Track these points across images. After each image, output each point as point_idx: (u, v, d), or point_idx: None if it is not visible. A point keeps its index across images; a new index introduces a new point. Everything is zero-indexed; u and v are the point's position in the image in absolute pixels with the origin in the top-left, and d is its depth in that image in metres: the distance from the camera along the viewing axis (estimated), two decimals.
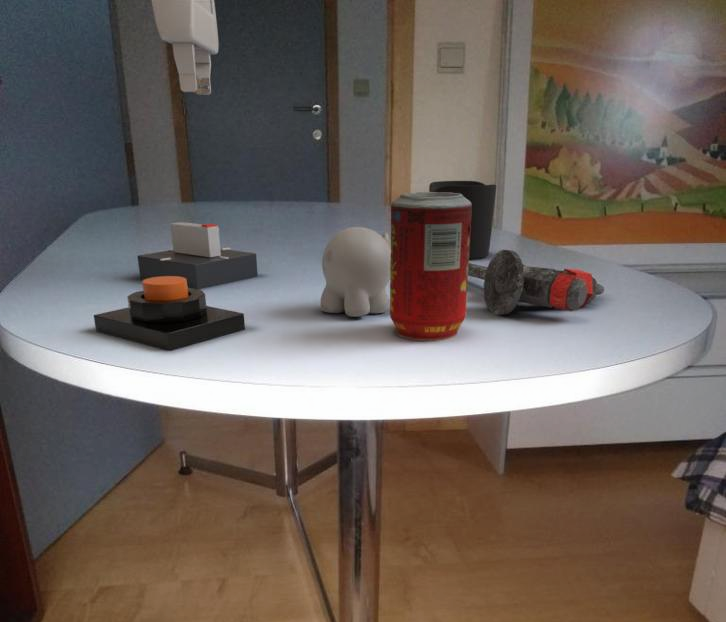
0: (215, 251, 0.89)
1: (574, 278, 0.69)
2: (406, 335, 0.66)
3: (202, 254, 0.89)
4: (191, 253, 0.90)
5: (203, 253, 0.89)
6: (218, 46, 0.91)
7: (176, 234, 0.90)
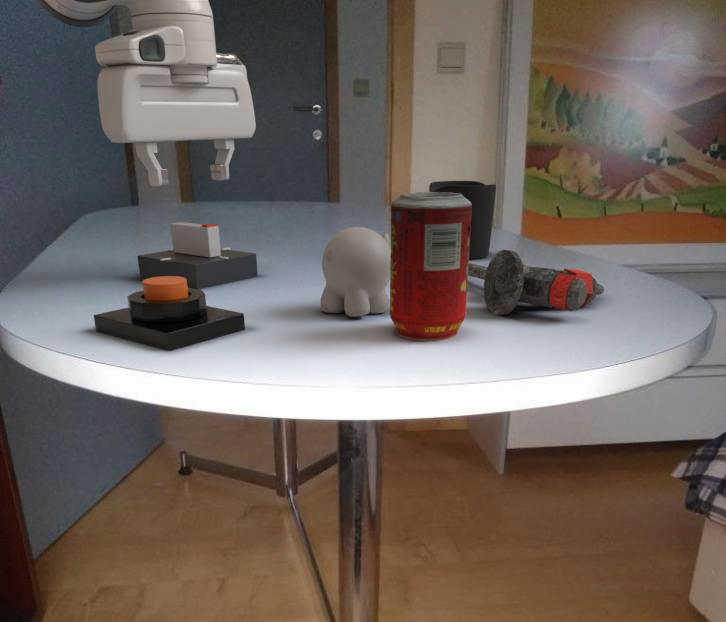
0: (215, 251, 0.89)
1: (574, 278, 0.69)
2: (406, 335, 0.66)
3: (202, 254, 0.89)
4: (191, 253, 0.90)
5: (203, 253, 0.89)
6: (252, 130, 0.90)
7: (176, 234, 0.90)
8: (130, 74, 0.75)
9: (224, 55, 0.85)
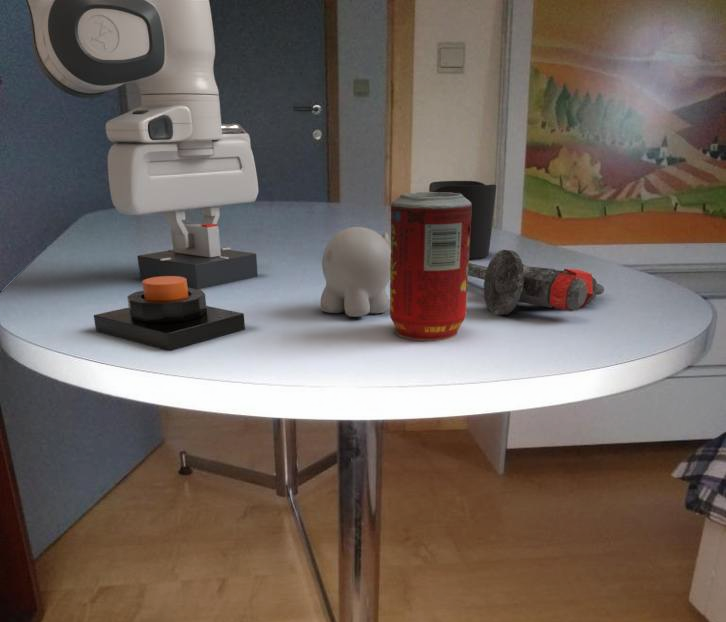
0: (215, 251, 0.89)
1: (574, 278, 0.69)
2: (406, 335, 0.66)
3: (202, 254, 0.89)
4: (191, 253, 0.90)
5: (203, 253, 0.89)
6: (254, 195, 0.93)
7: None
8: (139, 153, 0.78)
9: (229, 126, 0.89)
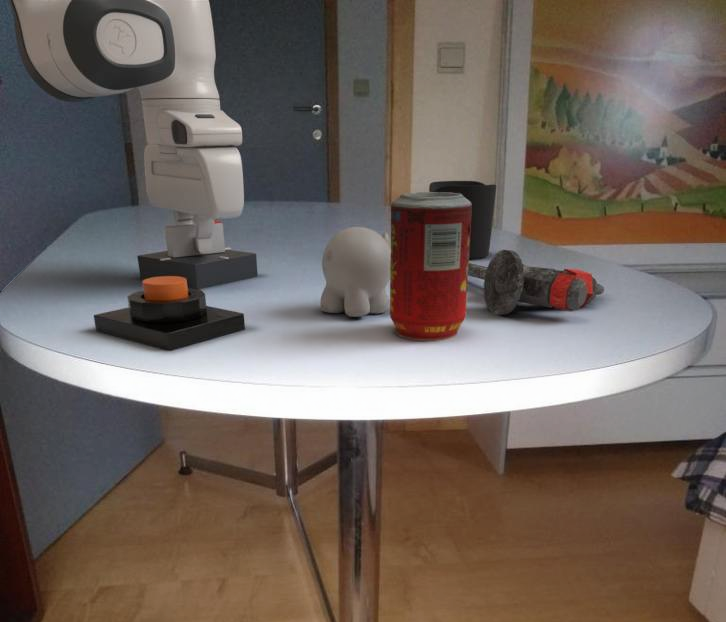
0: None
1: (574, 278, 0.69)
2: (406, 335, 0.66)
3: (215, 251, 0.91)
4: (200, 253, 0.90)
5: (216, 250, 0.91)
6: None
7: (179, 237, 0.88)
8: None
9: None
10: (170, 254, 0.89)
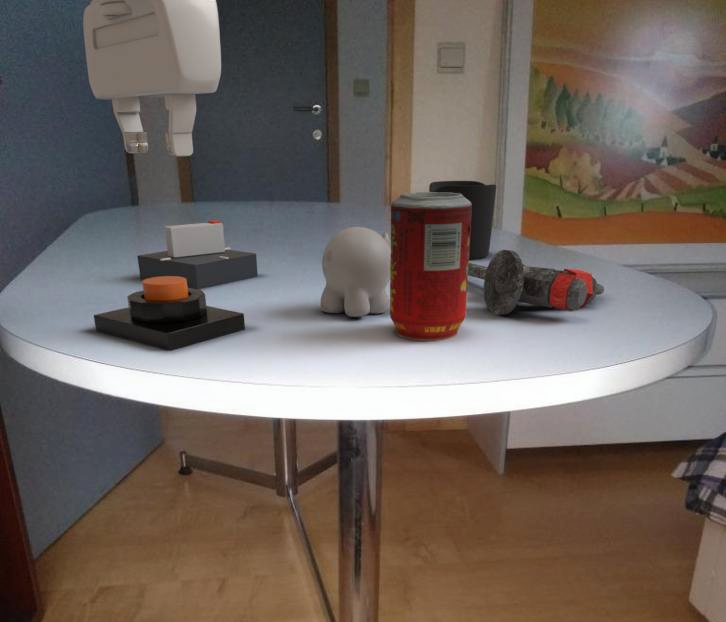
0: None
1: (574, 278, 0.69)
2: (406, 335, 0.66)
3: (215, 251, 0.91)
4: (200, 253, 0.90)
5: (216, 250, 0.91)
6: None
7: (179, 237, 0.88)
8: None
9: None
10: (170, 254, 0.89)
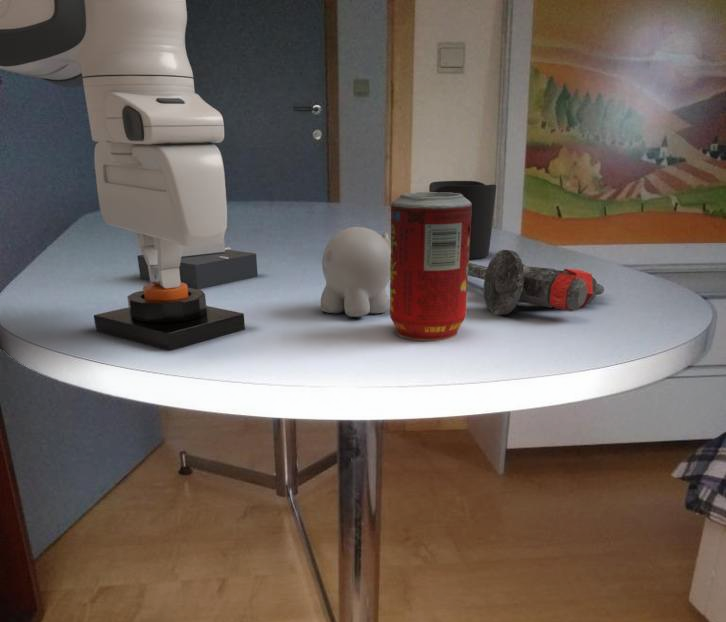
0: None
1: (574, 278, 0.69)
2: (406, 335, 0.66)
3: (215, 251, 0.91)
4: (200, 253, 0.90)
5: (216, 250, 0.91)
6: None
7: None
8: None
9: None
10: None
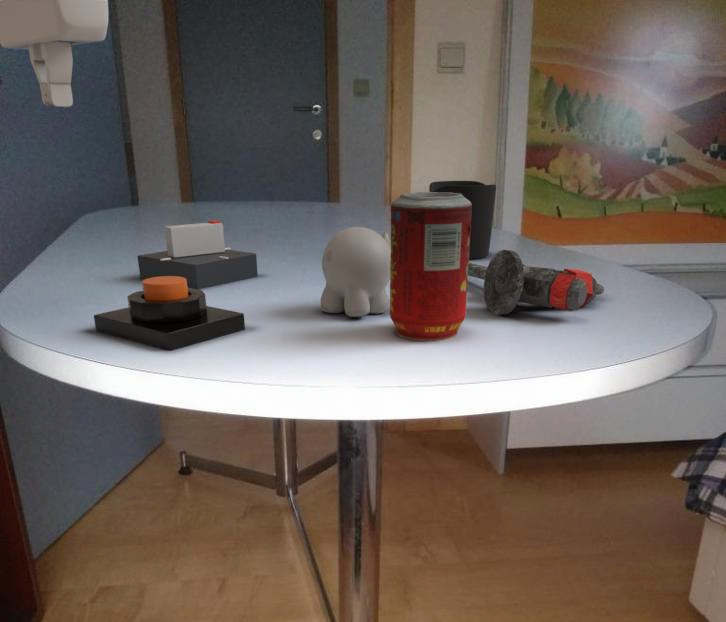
0: None
1: (574, 278, 0.69)
2: (406, 335, 0.66)
3: (215, 251, 0.91)
4: (200, 253, 0.90)
5: (216, 250, 0.91)
6: None
7: (179, 237, 0.88)
8: None
9: None
10: (170, 254, 0.89)
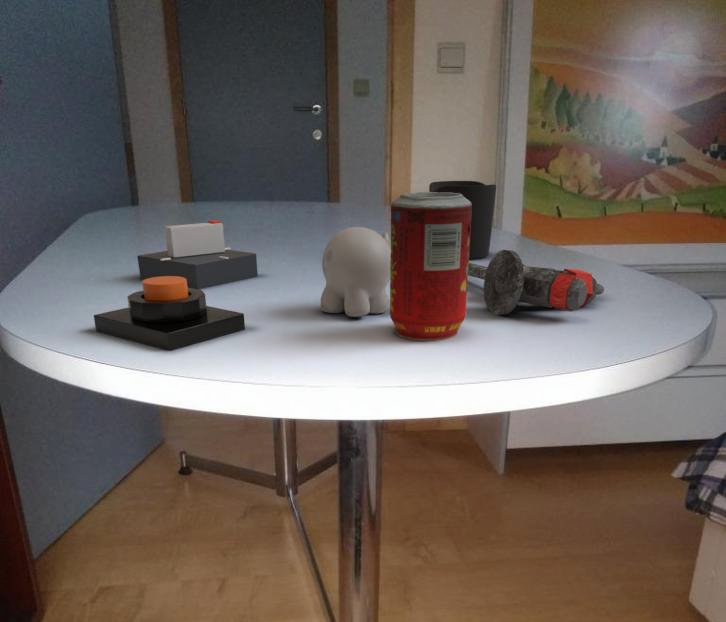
0: None
1: (574, 278, 0.69)
2: (406, 335, 0.66)
3: (215, 251, 0.91)
4: (200, 253, 0.90)
5: (216, 250, 0.91)
6: None
7: (179, 237, 0.88)
8: None
9: None
10: (170, 254, 0.89)
